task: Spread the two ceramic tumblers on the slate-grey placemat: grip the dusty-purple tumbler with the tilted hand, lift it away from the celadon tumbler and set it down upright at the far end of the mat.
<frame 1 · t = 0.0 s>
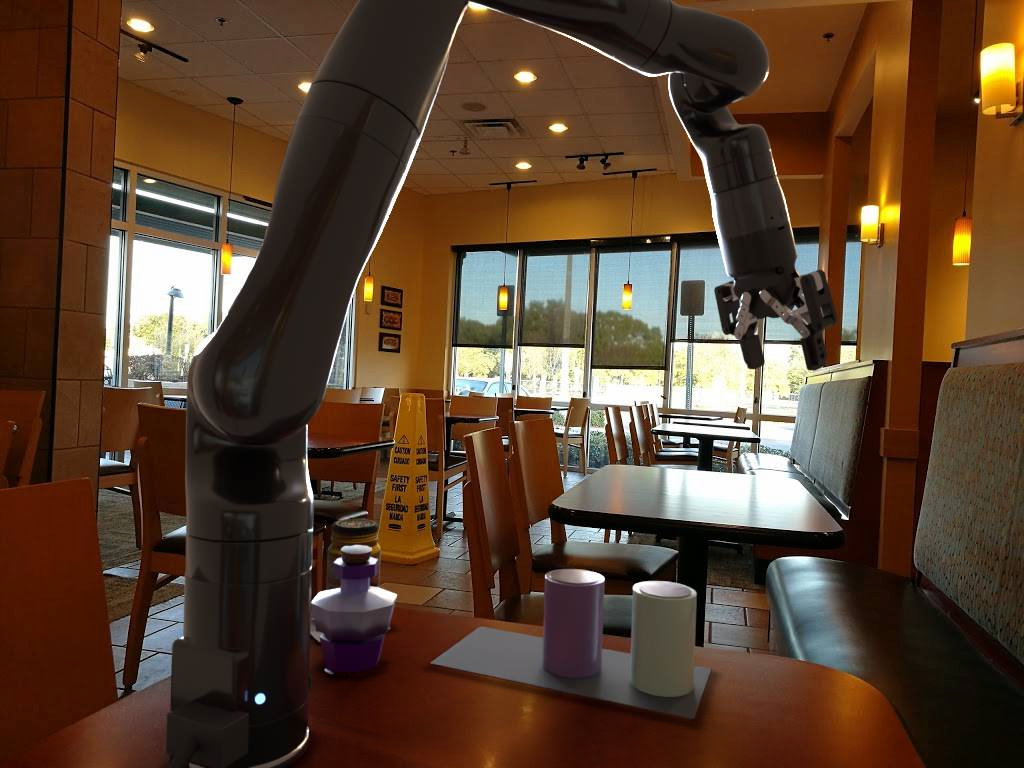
hand: (785, 367, 82), 31 cm above the table, tool tilted 20°, fingers open, 8 cm apart
potion bottle: (352, 668, 73), on the table
celadon tumbler: (661, 683, 70), point 1 cm above the table, touching placemat
condiment: (344, 628, 84), on the table
placemat: (571, 671, 73), on the table
purple tumbler: (571, 665, 73), point 1 cm above the table, touching placemat
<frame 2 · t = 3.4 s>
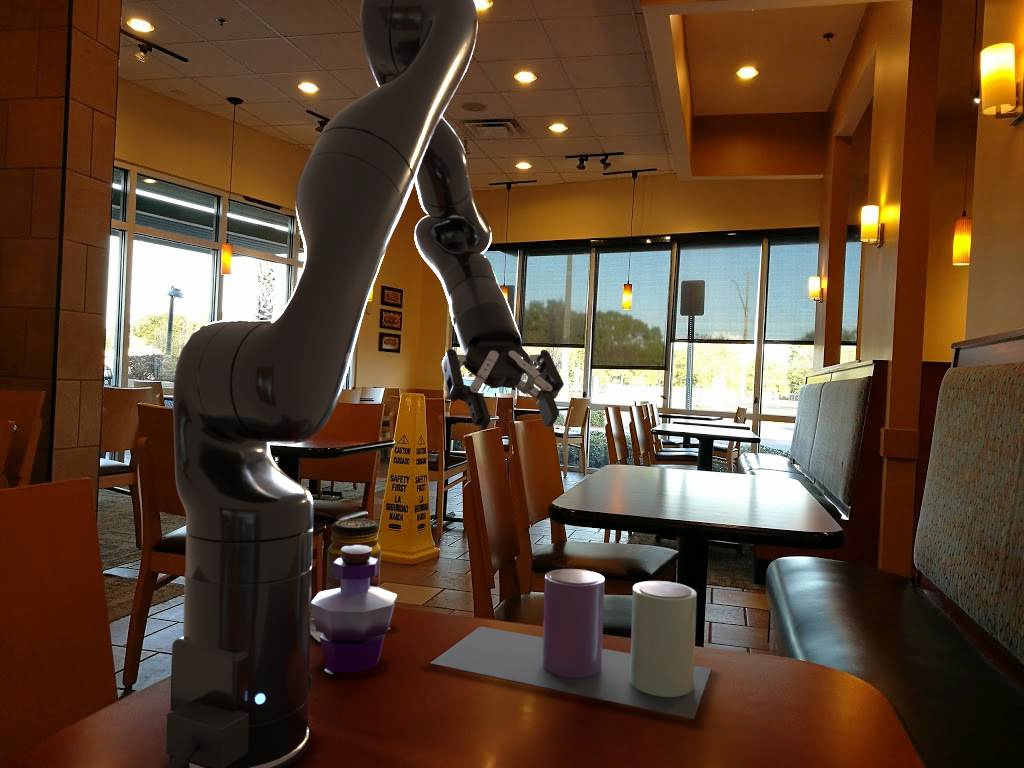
hand: (519, 424, 84), 24 cm above the table, tool tilted 40°, fingers open, 8 cm apart
nothing on the table moved.
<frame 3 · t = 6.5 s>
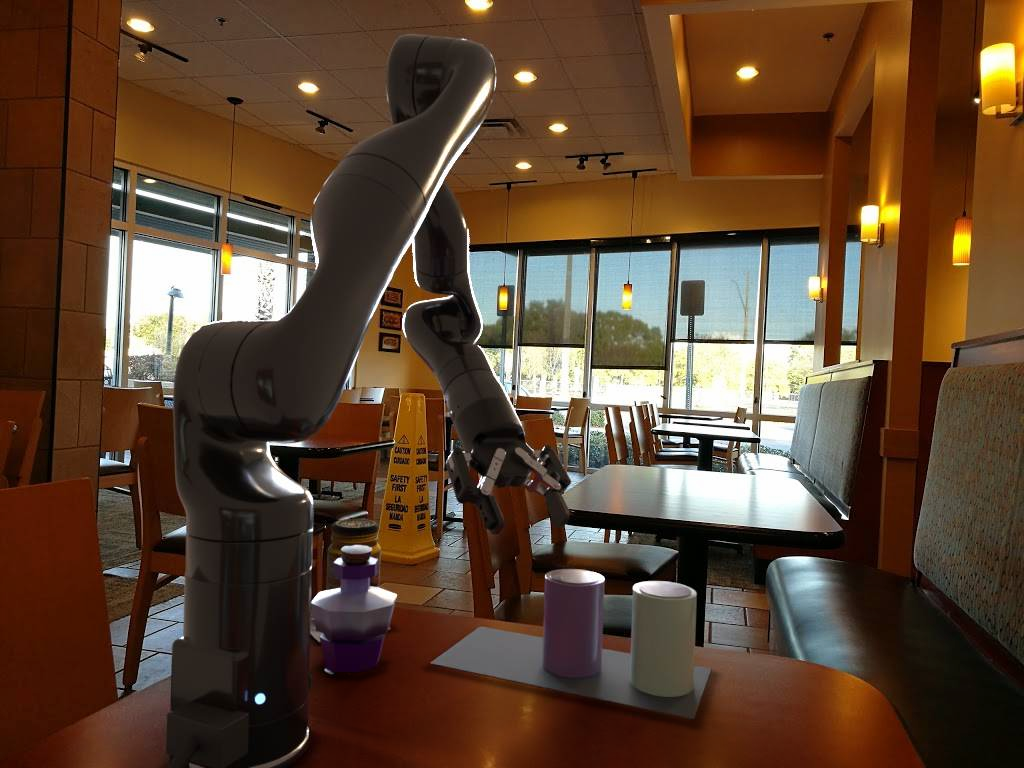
hand: (532, 526, 80), 13 cm above the table, tool tilted 45°, fingers open, 8 cm apart
nothing on the table moved.
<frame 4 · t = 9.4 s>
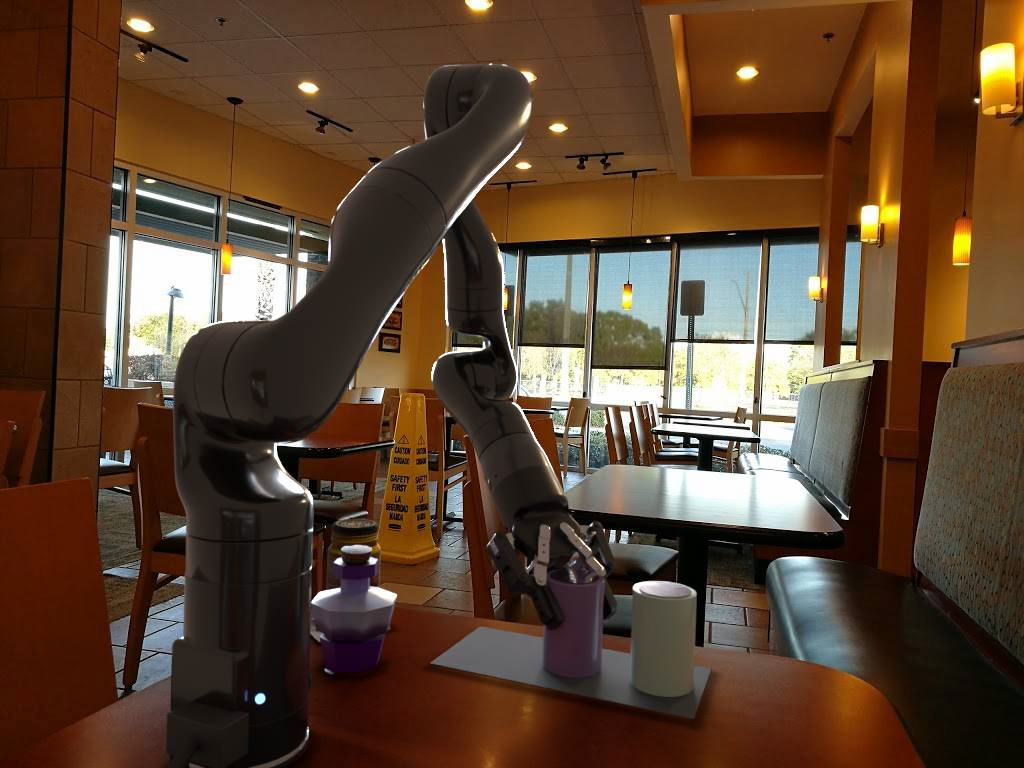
hand: (584, 620, 72), 6 cm above the table, tool tilted 45°, fingers closed on purple tumbler, 6 cm apart
purple tumbler: (571, 665, 73), point 1 cm above the table, touching gripper, placemat
everything else where it was.
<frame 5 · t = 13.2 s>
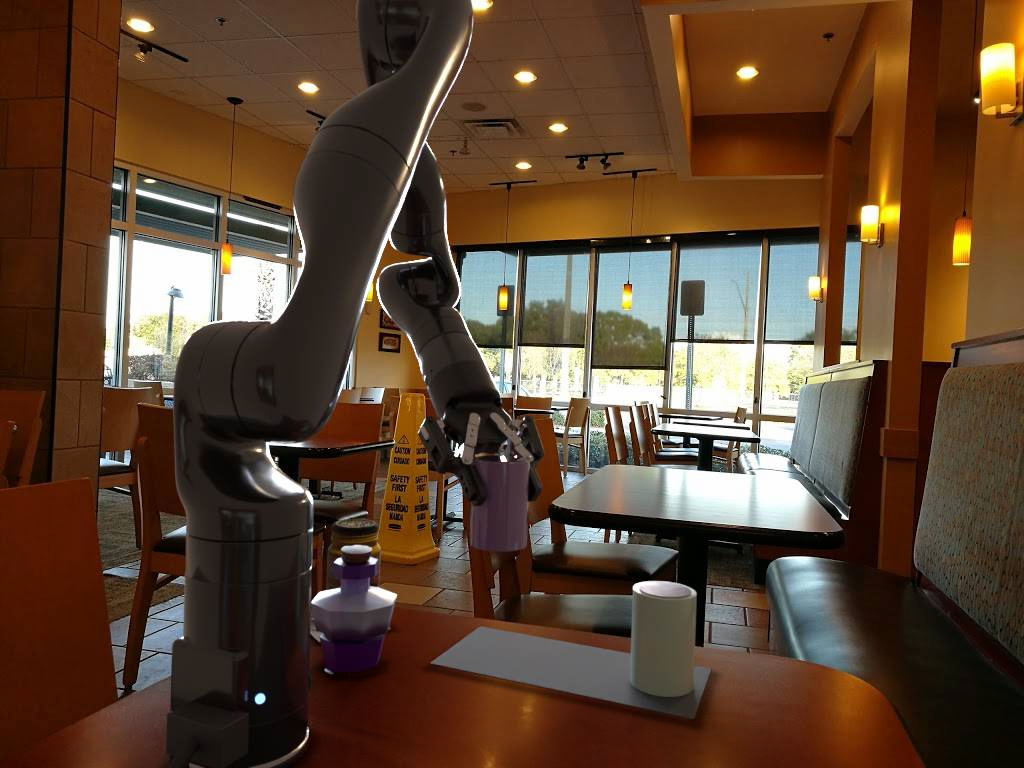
hand: (508, 498, 75), 17 cm above the table, tool tilted 45°, fingers closed on purple tumbler, 6 cm apart
purple tumbler: (498, 544, 76), point 12 cm above the table, touching gripper
everything else where it was.
when the fingers open (6 cm above the table, at t = 16.9 s): purple tumbler stays where it is, resting on placemat.
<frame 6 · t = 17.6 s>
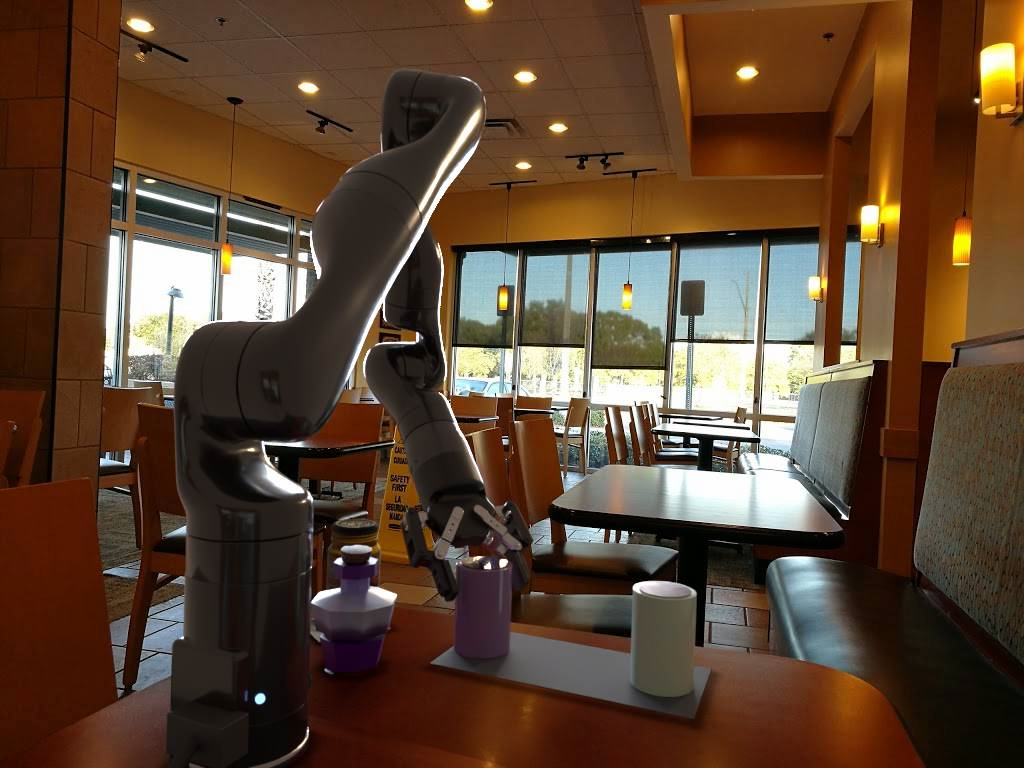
hand: (489, 592, 76), 7 cm above the table, tool tilted 45°, fingers open, 8 cm apart
purple tumbler: (481, 647, 77), point 1 cm above the table, touching placemat
everything else where it was.
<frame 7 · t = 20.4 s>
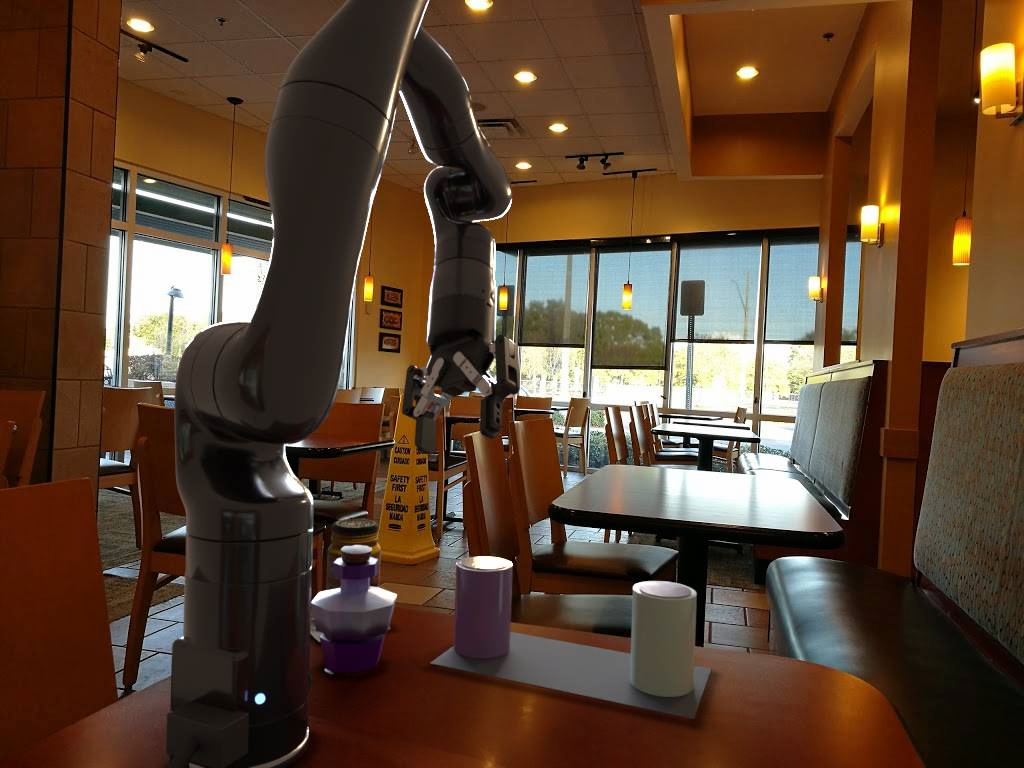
hand: (456, 444, 75), 22 cm above the table, tool tilted 25°, fingers open, 8 cm apart
nothing on the table moved.
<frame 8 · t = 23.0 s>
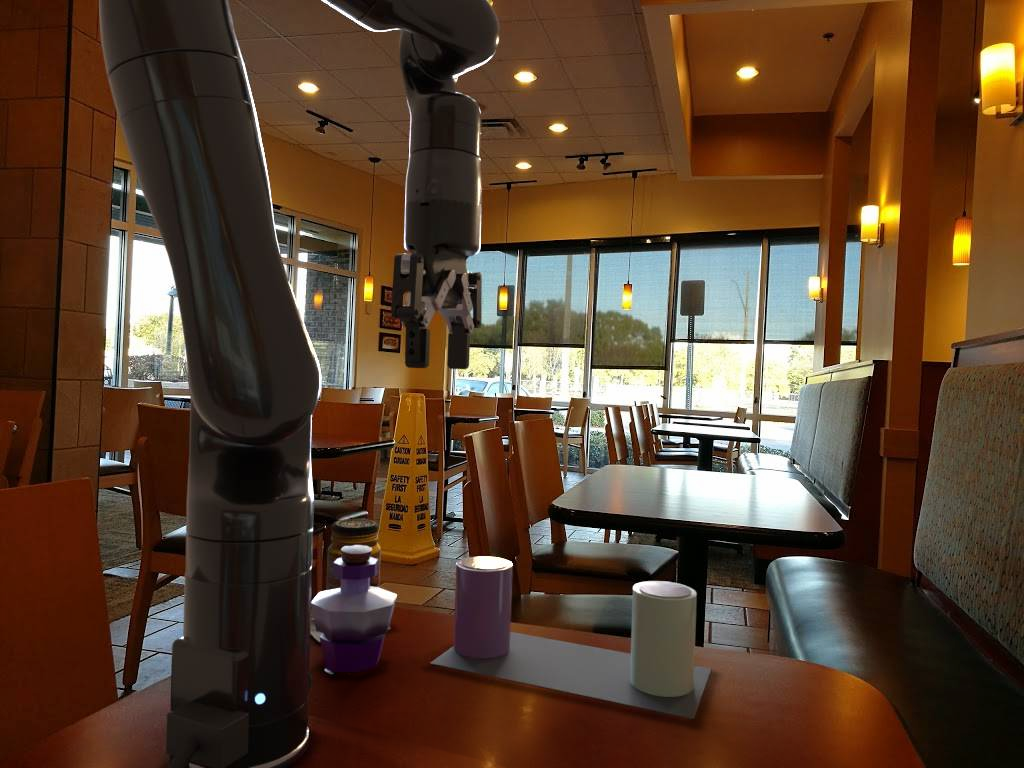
hand: (438, 368, 72), 30 cm above the table, tool pointing down, fingers open, 8 cm apart
nothing on the table moved.
at the end: purple tumbler inside the target area (0.1 cm from its centre), point 0.6 cm above the table; purple tumbler tilted 0°; celadon tumbler moved 0.0 cm from its start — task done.
